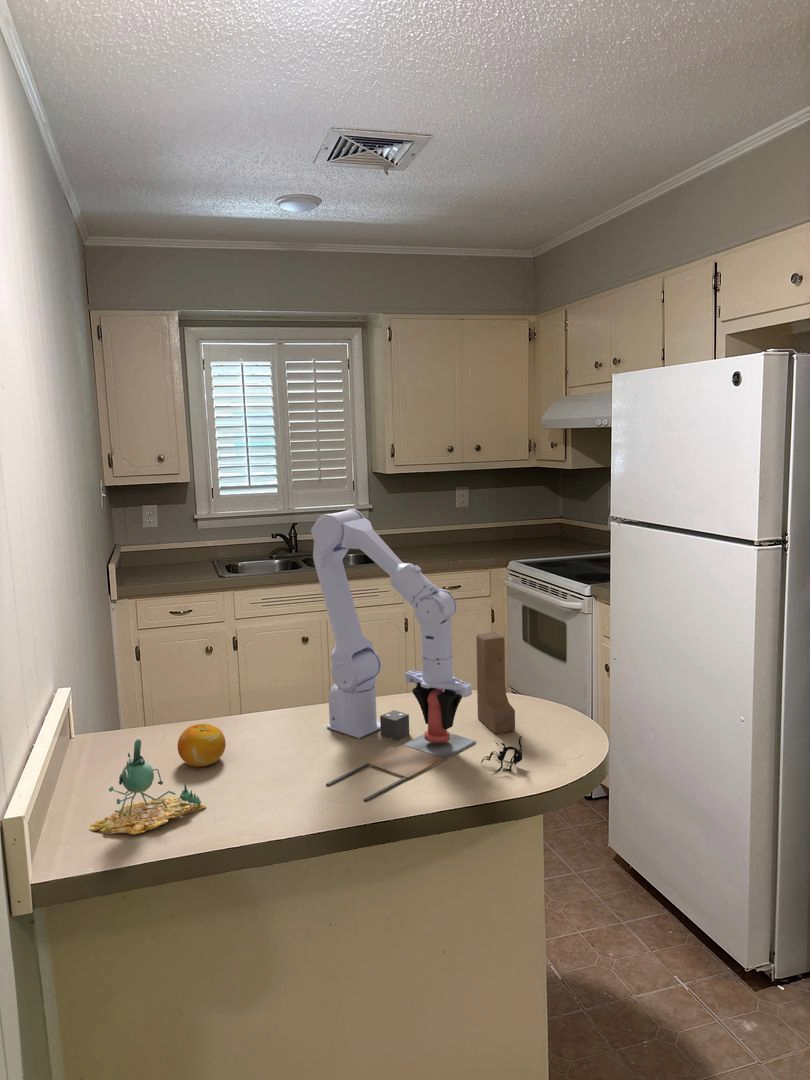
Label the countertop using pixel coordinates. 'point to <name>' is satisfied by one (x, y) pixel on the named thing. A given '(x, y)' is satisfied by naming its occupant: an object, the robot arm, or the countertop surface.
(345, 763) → the countertop surface
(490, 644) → the wooden block
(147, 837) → the countertop surface
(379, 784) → the countertop surface
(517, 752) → the creature
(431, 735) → the pawn
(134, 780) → the teal figurine on bark
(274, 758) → the countertop surface
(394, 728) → the die
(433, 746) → the board
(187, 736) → the fruit
